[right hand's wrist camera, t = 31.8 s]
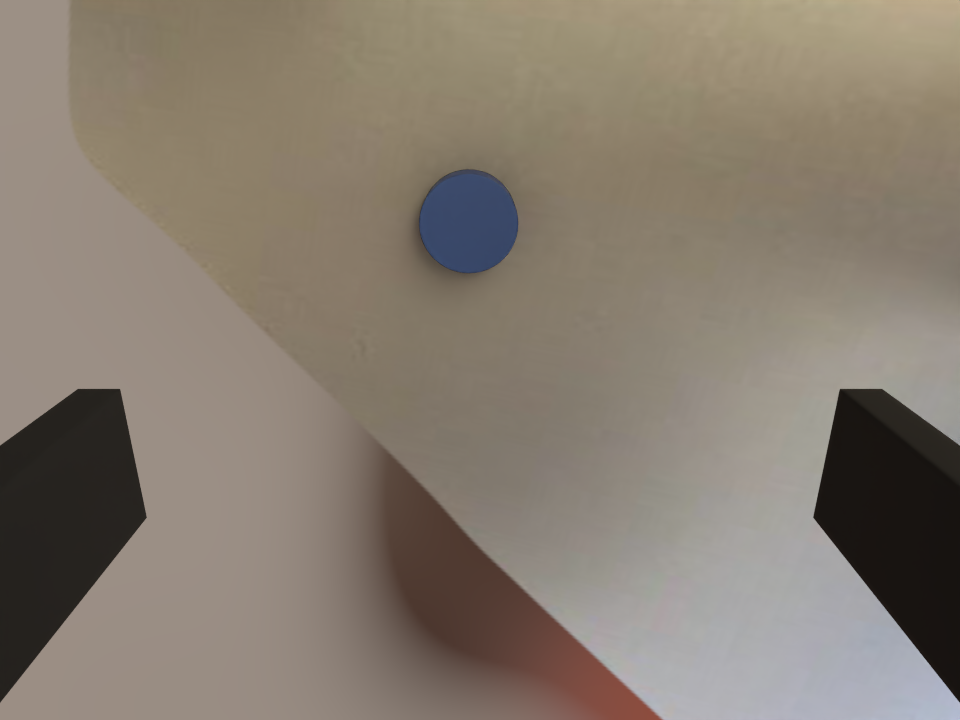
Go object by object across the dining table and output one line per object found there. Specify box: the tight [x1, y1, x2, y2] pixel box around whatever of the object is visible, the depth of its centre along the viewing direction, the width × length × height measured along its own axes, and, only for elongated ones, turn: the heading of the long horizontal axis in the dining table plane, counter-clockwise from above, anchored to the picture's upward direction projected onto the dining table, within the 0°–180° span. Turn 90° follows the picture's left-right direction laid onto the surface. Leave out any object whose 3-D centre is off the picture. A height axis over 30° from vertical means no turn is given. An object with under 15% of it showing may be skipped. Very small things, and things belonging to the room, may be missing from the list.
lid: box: [419, 170, 518, 273], centre depth 36 cm, size 5×5×2 cm
